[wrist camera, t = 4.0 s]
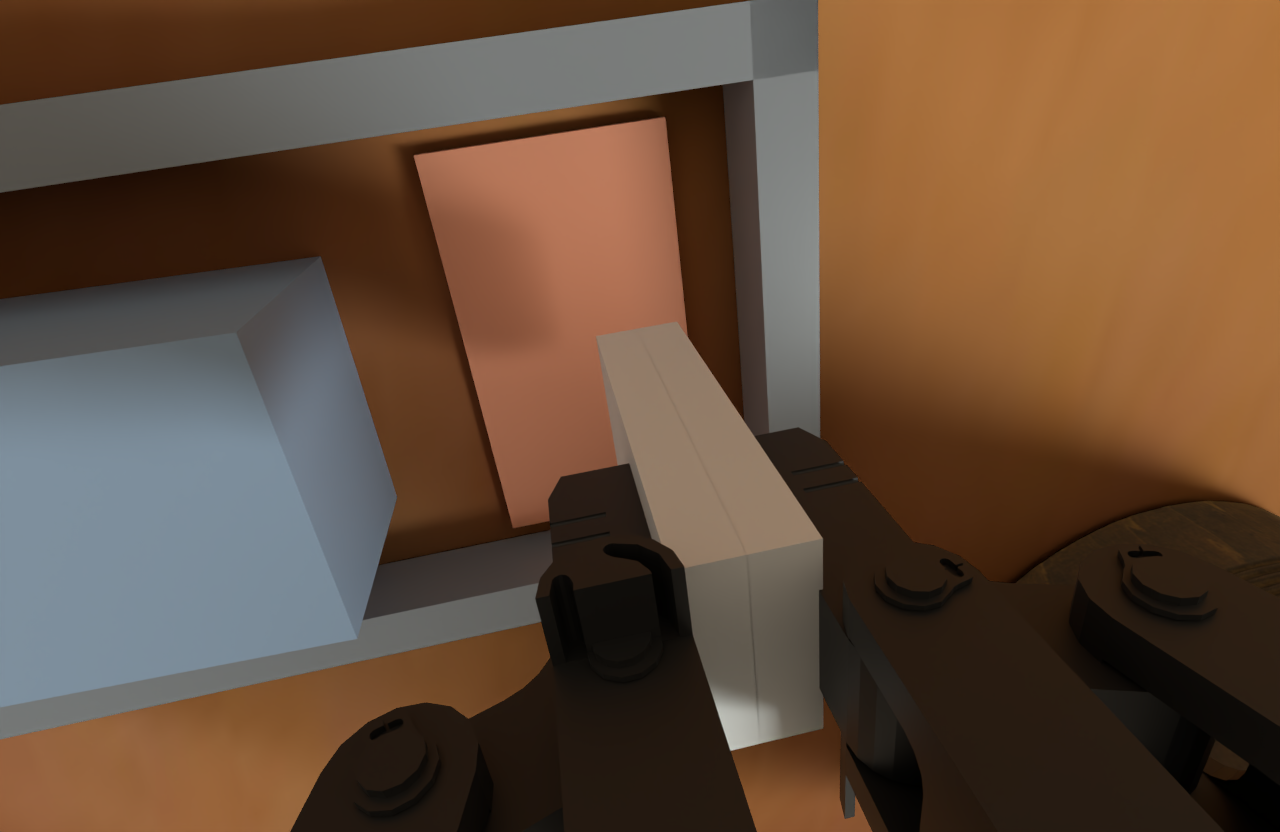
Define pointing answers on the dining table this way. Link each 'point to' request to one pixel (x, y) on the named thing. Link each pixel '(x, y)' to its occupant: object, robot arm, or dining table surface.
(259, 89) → the grey flat frame
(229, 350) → the slate block
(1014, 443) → the dining table surface
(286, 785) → the dining table surface
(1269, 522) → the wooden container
